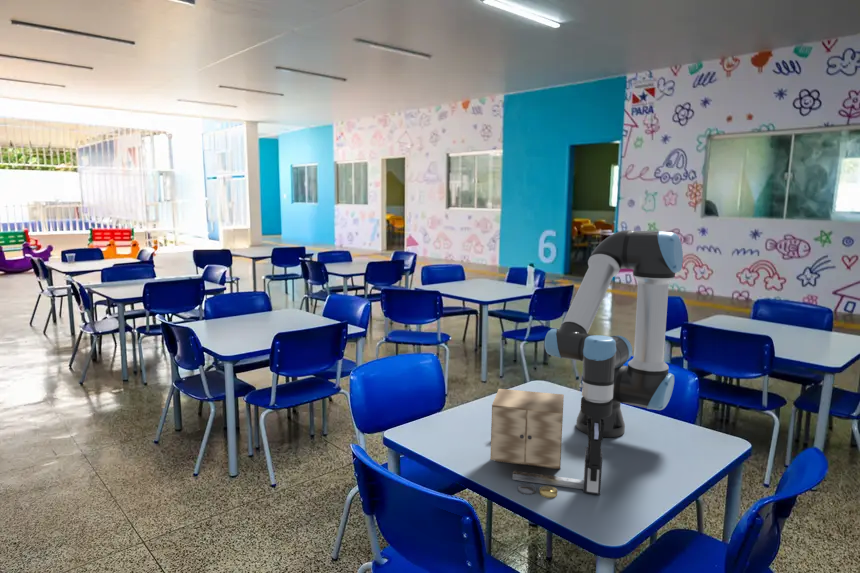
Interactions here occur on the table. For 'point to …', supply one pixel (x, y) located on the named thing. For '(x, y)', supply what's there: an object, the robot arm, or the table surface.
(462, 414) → the table surface
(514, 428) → the cabinet
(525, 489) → the steel disc
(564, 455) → the table surface
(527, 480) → the grey mallet
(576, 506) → the table surface
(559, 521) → the table surface
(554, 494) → the brass disc
